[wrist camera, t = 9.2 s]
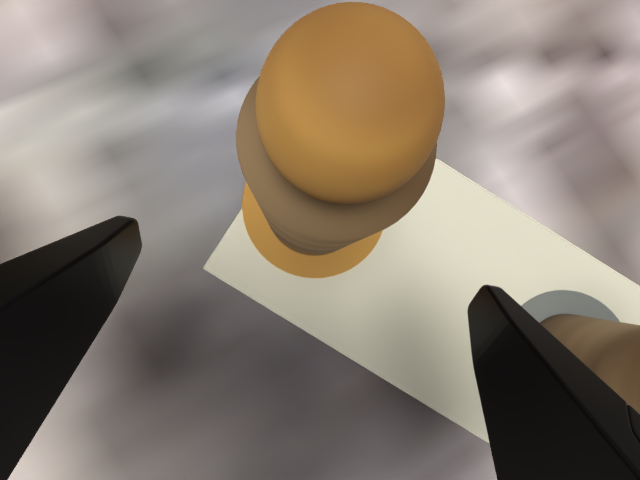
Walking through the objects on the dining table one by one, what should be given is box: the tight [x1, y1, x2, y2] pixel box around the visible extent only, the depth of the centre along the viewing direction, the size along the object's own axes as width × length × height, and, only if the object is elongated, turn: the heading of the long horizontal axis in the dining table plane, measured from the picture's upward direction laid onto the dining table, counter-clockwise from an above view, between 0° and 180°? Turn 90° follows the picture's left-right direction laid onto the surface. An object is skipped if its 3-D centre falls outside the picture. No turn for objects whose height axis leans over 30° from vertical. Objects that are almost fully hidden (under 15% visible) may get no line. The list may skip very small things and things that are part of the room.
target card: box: [203, 158, 640, 444], centre depth 18 cm, size 11×22×1 cm, turn 58°
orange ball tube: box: [236, 2, 445, 256], centre depth 11 cm, size 5×5×12 cm
